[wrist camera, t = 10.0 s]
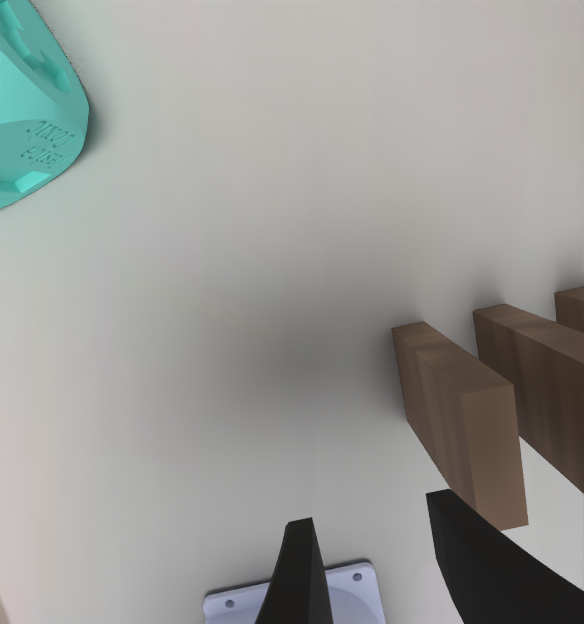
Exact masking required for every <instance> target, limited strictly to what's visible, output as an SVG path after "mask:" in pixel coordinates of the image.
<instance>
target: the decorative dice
mask: <svg viewBox="0 0 584 624" xmlns="http://www.w3.org/2000/svg"><path fill="white" fill-rule="evenodd" d="M88 116H89V105H88V101H87V98H86V95H85V93H84V90H83V88H82V86H81V84H80V81H79V79H78V77H77V75H76V74H75V72H74V70H73V68H72V66H71V64H70V63H69V61H68V59H67V57H66V56H65V54H64V52H63V51H62V49H61V48H60V46H59V44H58V43H57V41H56V40H55V38H54V37H53V35H52V34H51V32H50V31H49V29H48V28H47V26H46V25H45V23H44V22H43V20H42V19H41V17H40V16H39V14H38V13H37V12H36V10H35V9H34V7H33V6H32V5H31V3H30V2H29V0H0V208H2V207H4V206H7V205H9V204H11V203H13V202H15V201H17V200H19V199H21V198H23V197H25V196H27V195H29V194H31V193H32V192H34V191H36V190H37V189H39V188H41V187H42V186H44V185H46V184H47V183H49V182H50V181H51V180H53V179H54V178H56V177H57V176H58V175H59V174H61V173H62V172H63V171H64V170H65V169H66V168H68V167H69V166H70V165H71V164H72V163H73V161H74V160H75V159H76V158H77V156H78V155H79V153H80V152H81V150H82V147H83V144H84V140H85V136H86V132H87V125H88Z"/></svg>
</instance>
